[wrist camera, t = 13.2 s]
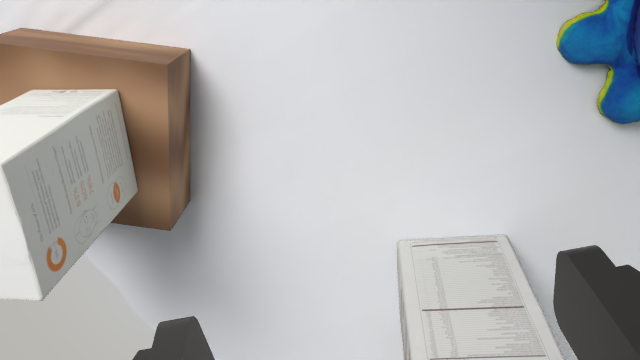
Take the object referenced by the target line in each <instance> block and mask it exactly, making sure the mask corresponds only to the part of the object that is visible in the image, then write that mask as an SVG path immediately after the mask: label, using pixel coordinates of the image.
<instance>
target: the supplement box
mask: <svg viewBox="0 0 640 360" xmlns="http://www.w3.org/2000/svg"><path fill="white" fill-rule="evenodd" d="M397 269H398V289H399V309H400V321H401V332H402V342H403V351H404V360H565V359H564V357H563V355H562V353H561V351H560V349H559V347H558V344H557V342H556V340H555V338H554V336H553V333H552V331H551V329H550V327H549V325H548V322H547V320H546V318H545V316H544V314H543V311H542V309H541V306H540V304H539V302H538V301H537V299H536V297H535V295H534V293H533V291H532V289H531V287H530V284H529V282H528V280H527V278H526V275H525V273H524V271H523V269H522V267H521V265H520V263H519V260H518V258H517V256H516V254H515V252H514V249H513V247H512V245H511V243H510V241H509V239H508V237H507V236H506V235H491V236H474V237H457V238H440V239H423V240H407V241H398V242H397Z"/></svg>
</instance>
